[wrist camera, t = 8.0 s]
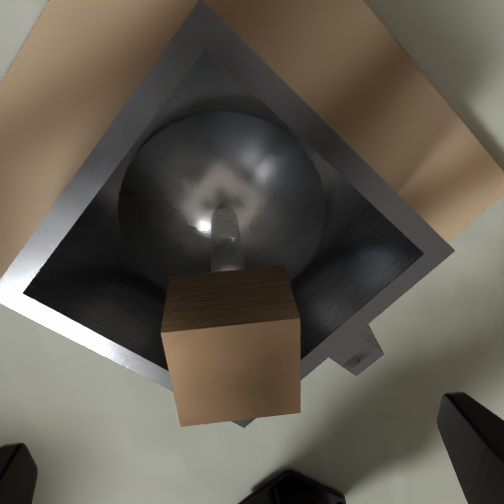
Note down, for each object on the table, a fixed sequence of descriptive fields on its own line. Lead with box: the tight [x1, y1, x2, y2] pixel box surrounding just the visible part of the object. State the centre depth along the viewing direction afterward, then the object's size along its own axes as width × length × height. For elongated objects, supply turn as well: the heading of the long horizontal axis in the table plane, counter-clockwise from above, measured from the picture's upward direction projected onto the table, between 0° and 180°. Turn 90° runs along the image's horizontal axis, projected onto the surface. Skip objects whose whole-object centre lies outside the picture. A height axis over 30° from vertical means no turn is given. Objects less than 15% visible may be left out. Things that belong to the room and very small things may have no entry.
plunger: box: [118, 110, 326, 427], centre depth 14 cm, size 9×9×10 cm
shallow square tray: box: [0, 0, 455, 428], centre depth 17 cm, size 14×12×6 cm
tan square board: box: [0, 0, 504, 279], centre depth 19 cm, size 20×20×1 cm
